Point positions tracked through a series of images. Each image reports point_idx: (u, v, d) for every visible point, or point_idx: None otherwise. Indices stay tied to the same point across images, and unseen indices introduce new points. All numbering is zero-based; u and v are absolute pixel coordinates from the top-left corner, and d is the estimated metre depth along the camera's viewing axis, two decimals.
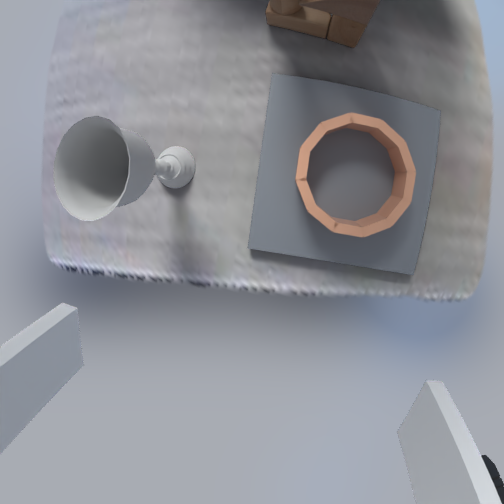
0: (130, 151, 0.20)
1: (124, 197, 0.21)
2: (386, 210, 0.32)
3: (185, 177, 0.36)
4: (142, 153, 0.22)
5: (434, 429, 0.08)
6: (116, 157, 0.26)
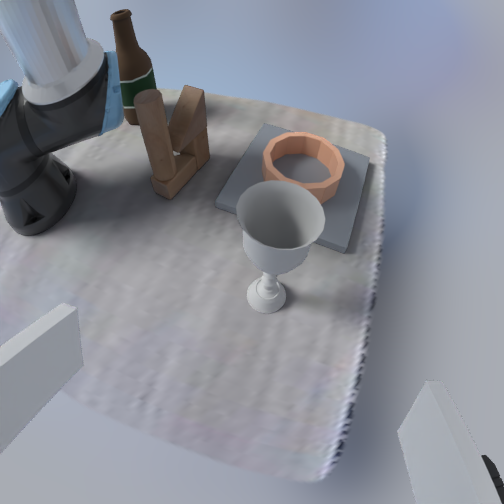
0: (275, 193, 0.28)
1: (308, 212, 0.28)
2: (327, 155, 0.49)
3: (279, 283, 0.41)
4: None
5: (434, 429, 0.08)
6: None
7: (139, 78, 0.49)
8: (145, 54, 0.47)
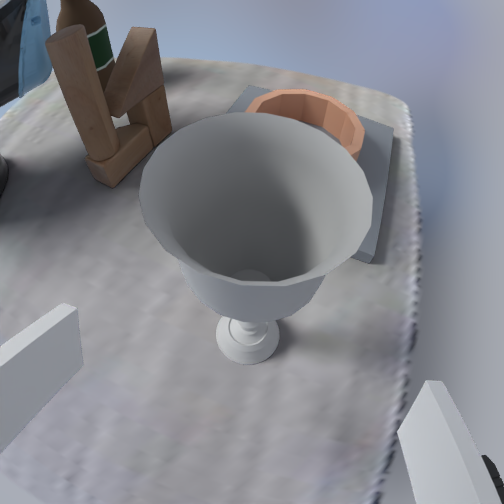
0: None
1: None
2: (338, 121, 0.33)
3: None
4: None
5: (434, 429, 0.08)
6: None
7: (87, 37, 0.32)
8: (96, 8, 0.31)
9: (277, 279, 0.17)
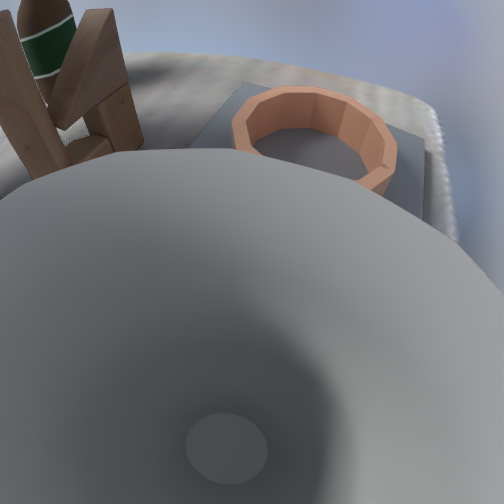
0: None
1: None
2: (359, 130, 0.25)
3: None
4: None
5: None
6: (171, 497, 0.07)
7: (49, 30, 0.24)
8: None
9: (272, 437, 0.09)
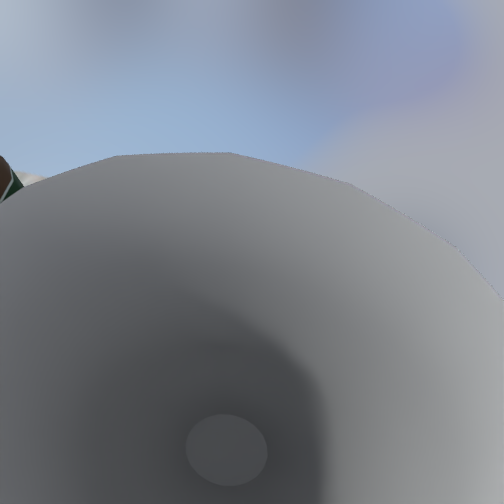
0: None
1: None
2: None
3: None
4: None
5: None
6: (171, 498, 0.07)
7: None
8: None
9: (272, 439, 0.09)
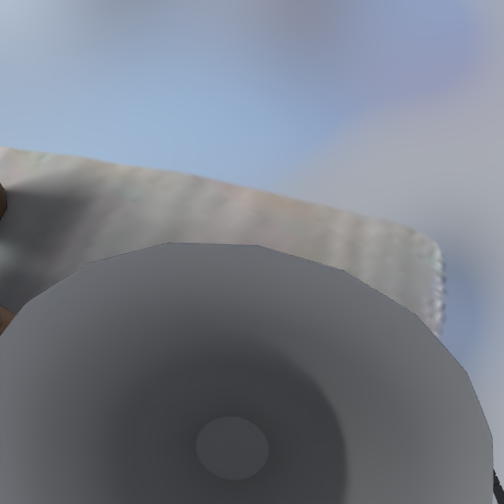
0: None
1: None
2: None
3: None
4: None
5: None
6: (186, 492, 0.08)
7: None
8: None
9: (273, 438, 0.10)
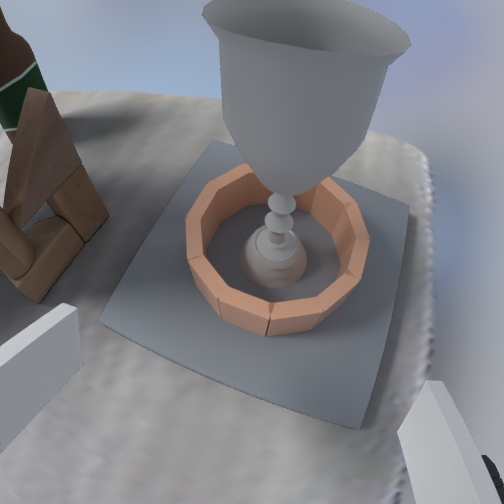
0: (290, 16, 0.11)
1: (361, 46, 0.11)
2: (331, 212, 0.24)
3: None
4: None
5: (434, 429, 0.08)
6: None
7: (11, 83, 0.24)
8: (20, 43, 0.22)
9: None
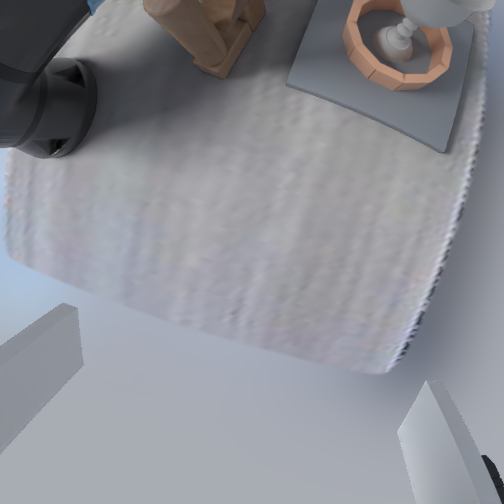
0: None
1: None
2: None
3: None
4: None
5: (434, 429, 0.08)
6: None
7: None
8: None
9: None
